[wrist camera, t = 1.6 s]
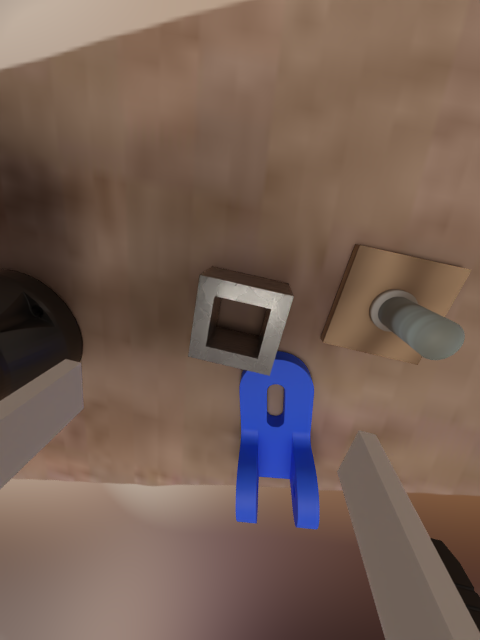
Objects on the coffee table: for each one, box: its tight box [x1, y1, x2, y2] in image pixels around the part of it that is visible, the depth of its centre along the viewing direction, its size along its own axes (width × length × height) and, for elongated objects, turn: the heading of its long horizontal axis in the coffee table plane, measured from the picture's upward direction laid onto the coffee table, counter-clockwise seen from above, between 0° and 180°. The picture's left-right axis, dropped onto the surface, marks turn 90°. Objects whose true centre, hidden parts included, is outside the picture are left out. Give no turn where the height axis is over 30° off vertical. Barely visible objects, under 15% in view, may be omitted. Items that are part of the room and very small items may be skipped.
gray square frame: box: [188, 266, 294, 376], centre depth 24 cm, size 8×8×5 cm
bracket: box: [236, 351, 319, 529], centre depth 26 cm, size 18×8×9 cm, turn 2°
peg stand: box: [321, 244, 471, 365], centre depth 20 cm, size 10×10×8 cm
